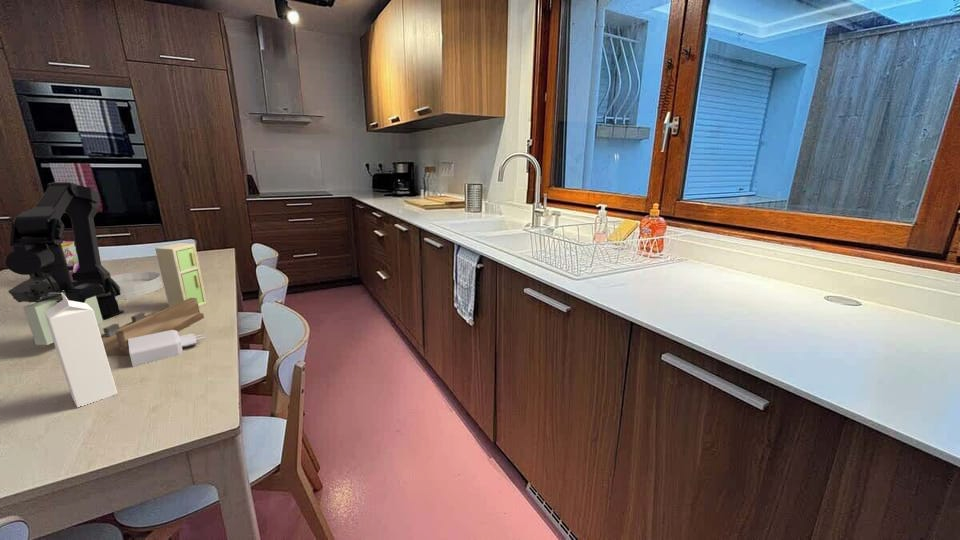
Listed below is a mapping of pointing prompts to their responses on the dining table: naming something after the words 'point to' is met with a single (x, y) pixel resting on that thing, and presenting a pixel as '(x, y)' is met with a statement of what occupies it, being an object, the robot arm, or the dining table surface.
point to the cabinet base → (150, 325)
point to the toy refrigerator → (181, 273)
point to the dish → (137, 284)
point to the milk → (80, 351)
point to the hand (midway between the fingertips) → (68, 321)
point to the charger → (159, 346)
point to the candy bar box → (70, 255)
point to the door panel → (40, 323)
